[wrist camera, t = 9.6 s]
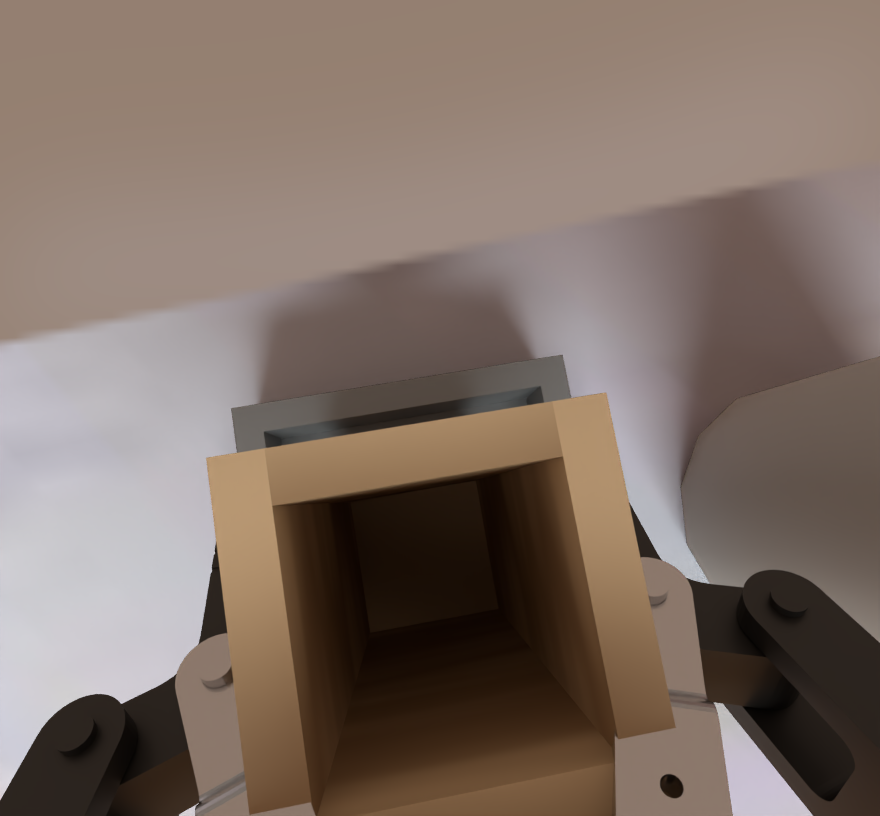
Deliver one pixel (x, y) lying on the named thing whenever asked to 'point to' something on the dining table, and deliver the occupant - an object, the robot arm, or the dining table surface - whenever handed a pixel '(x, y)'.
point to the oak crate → (438, 616)
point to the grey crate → (400, 403)
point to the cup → (794, 488)
